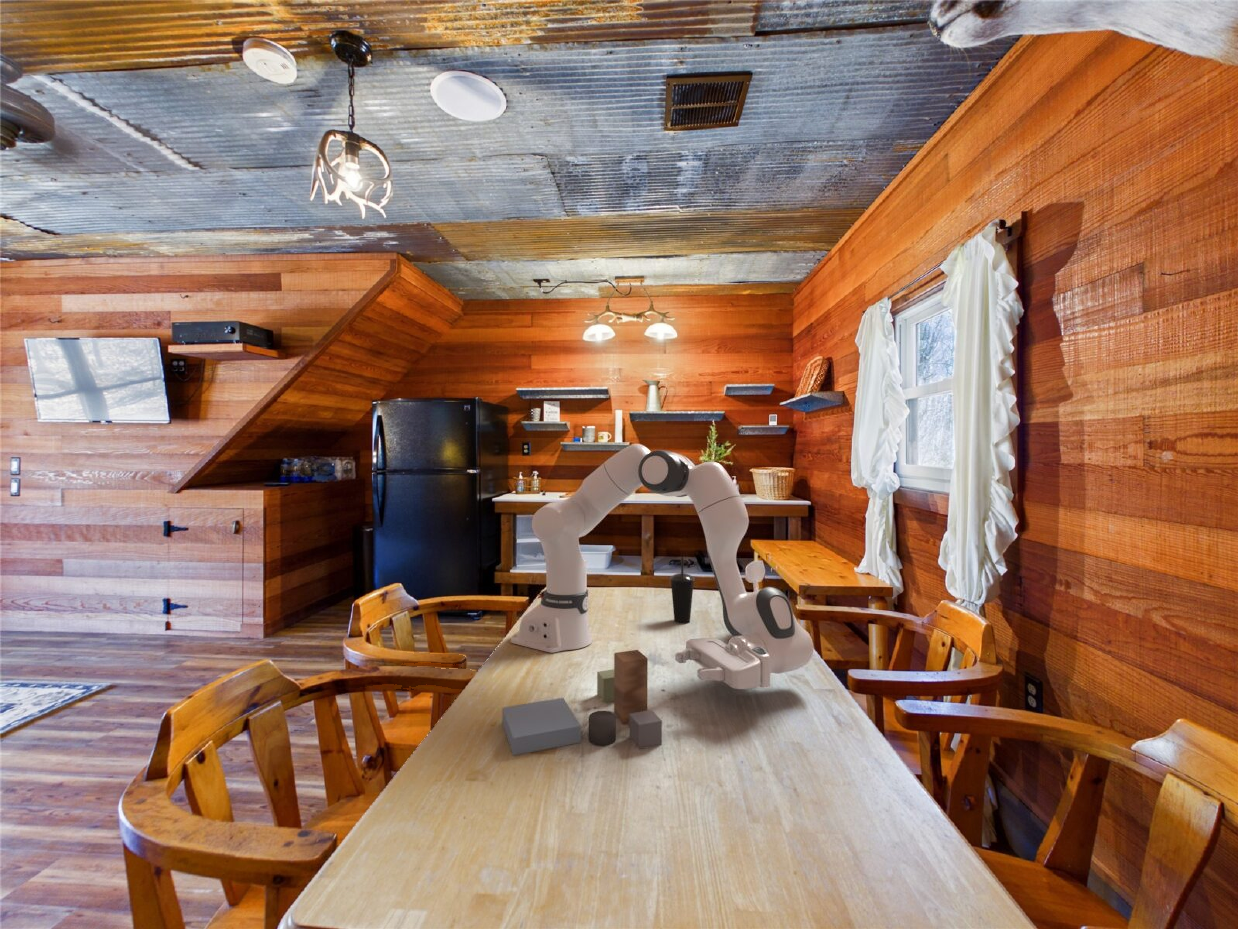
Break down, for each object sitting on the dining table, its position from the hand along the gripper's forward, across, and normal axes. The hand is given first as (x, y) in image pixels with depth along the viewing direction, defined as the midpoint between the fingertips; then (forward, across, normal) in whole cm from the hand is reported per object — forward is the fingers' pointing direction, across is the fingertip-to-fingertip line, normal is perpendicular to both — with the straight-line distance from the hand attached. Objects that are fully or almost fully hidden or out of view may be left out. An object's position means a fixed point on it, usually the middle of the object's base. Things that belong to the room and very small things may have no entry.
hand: (687, 666), depth 111 cm
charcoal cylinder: (+20, +6, +8) cm, 23 cm away
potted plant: (-40, -33, +8) cm, 52 cm away
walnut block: (+12, 0, +8) cm, 15 cm away
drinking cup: (-26, -52, +8) cm, 59 cm away
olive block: (+14, -10, +8) cm, 19 cm away
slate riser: (+30, 0, +8) cm, 32 cm away
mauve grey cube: (+14, +9, +8) cm, 18 cm away
